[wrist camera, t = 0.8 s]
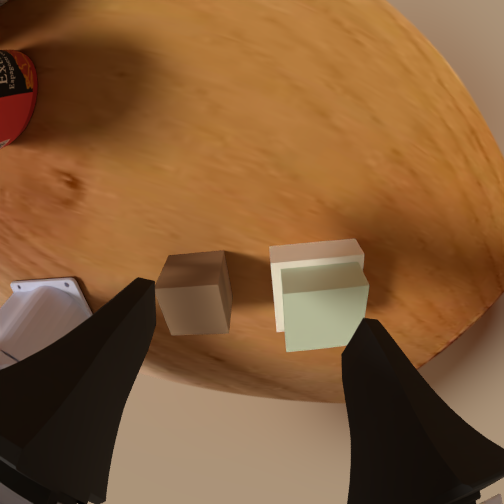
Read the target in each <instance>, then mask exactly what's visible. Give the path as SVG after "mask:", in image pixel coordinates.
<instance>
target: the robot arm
mask: <svg viewBox="0 0 504 504" xmlns="http://www.w3.org/2000/svg"><path fill="white" fill-rule="evenodd" d="M11 288H12V290H13V292H14V293H13V294H12V295H11V296H10V297H9V299H8V300H7V301H6V302H5V303H4V305H3V306H2V307H1V308H0V504H77V503H78V504H87V503H88V501H89V502H91V503H94V504H100V503H103V502H105V501H106V492H107V484H108V476H109V471H110V465H111V459H112V454H113V449H114V445H115V440H116V436H117V431H118V428H119V424H120V420H121V417H122V413H123V409H124V406H125V403H126V401H127V398H128V396H129V393H130V391H131V389H132V386H133V384H134V381H135V379H136V376H137V374H138V372H139V370H140V367H141V365H142V363H143V361H144V358H145V356H146V354H147V351H148V349H149V346H150V343H151V339H152V336H153V333H154V329H155V326H156V307H155V281H152V280H148V279H143V278H139V277H138V278H136V279H135V280H134V281H132V282H131V283H130V284H129V285H128V286H127V287H125V288H124V289H123V290H122V291H121V292H119V293H118V294H117V295H116V296H115V297H114V298H112V299H111V300H110V301H109V302H108V303H106V304H105V305H104V306H103V307H101V308H100V309H99V310H98V311H97V312H95V313H94V314H92V312H91V310H90V308H89V306H88V304H87V302H86V300H85V298H84V296H83V294H82V292H81V290H80V287H79V285H78V283H77V281H76V280H75V279H74V278H71V277H70V278H56V279H41V280H26V281H13V282H12V283H11ZM341 355H342V381H343V388H344V394H345V401H346V407H347V413H348V420H349V427H350V437H351V469H350V485H349V493H348V501H347V504H476V500H477V499H480V497H481V495H480V490H482V489H484V488H486V487H487V486H489V485H491V484H493V483H495V482H496V481H498V480H500V479H501V478H503V477H504V449H503V448H502V447H500V446H499V445H497V444H495V443H494V442H492V441H490V440H489V439H487V438H486V437H484V436H483V435H482V434H480V433H479V432H478V431H476V430H475V429H474V428H472V427H471V426H470V425H469V424H468V423H466V422H465V421H464V420H463V419H462V418H461V417H460V416H458V415H457V414H456V413H455V412H454V411H453V410H452V409H451V408H450V407H449V406H448V405H447V404H446V403H445V402H444V401H443V400H442V399H441V398H440V397H439V396H438V395H437V394H436V393H435V391H434V390H433V389H432V388H431V387H430V386H429V384H428V383H427V382H426V381H425V380H424V378H423V377H422V376H421V375H420V374H419V372H418V371H417V370H416V368H415V367H414V366H413V365H412V363H411V362H410V361H409V359H408V358H407V357H406V355H405V354H404V353H403V351H402V350H401V349H400V347H399V346H398V345H397V343H396V342H395V341H394V339H393V338H392V337H391V336H390V334H389V333H388V332H387V330H386V329H385V328H384V327H383V325H382V324H381V323H380V322H379V321H378V320H376V319H368V318H363V319H362V321H361V322H360V324H359V326H358V328H357V329H356V331H355V333H354V334H353V336H352V338H351V340H350V341H349V343H348V345H347V346H346V348H345V350H344V351H343V353H342V354H341ZM480 504H502V498H501V494H497V495H496V496H494V497H492V498H490V499H488V500H486V501H484V502H482V503H480Z"/></svg>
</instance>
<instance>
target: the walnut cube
mask: <svg viewBox="0 0 504 504" xmlns="http://www.w3.org/2000/svg"><path fill="white" fill-rule="evenodd" d="M155 294H156V297H157V300H158V302H159V305H160V308H161V310H162V313H163V315H164V318H165V321H166V323H167V326H168V328H169V331H170V333H171V335H203V334H225V333H229V328H230V318H231V308H232V298H233V296H232V290H231V285H230V280H229V275H228V269H227V264H226V258H225V253H224V250H222V251H211V252H200V253H190V254H179V255H169V256H168V259H167V261H166V263H165V265H164V267H163V269H162V272H161V274H160V276H159V278H158V280H157V283H156V285H155Z"/></svg>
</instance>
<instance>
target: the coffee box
mask: <svg viewBox="0 0 504 504" xmlns="http://www.w3.org/2000/svg"><path fill="white" fill-rule="evenodd" d="M7 1H9V0H0V6H1V5H3V4H4V3H6V2H7Z"/></svg>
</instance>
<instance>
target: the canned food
mask: <svg viewBox="0 0 504 504" xmlns="http://www.w3.org/2000/svg"><path fill="white" fill-rule="evenodd" d="M37 88H38V82H37V74H36V70H35V67H34V64H33V62H32V61H31V60H30V58H29V57H28V56H26V55H25V54H23V53H21V52H19V51H16V50H0V149H1V148H3V147H5V146H7V145H9V144H10V143H11V142H12V141H14V140H15V139H16V138H17V137H18V136H19V135H20V134H21V133H22V132H23V130H24V129H25V128H26V126H27V124H28V123H29V121H30V118H31V116H32V114H33V110H34V107H35V104H36V98H37Z"/></svg>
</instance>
